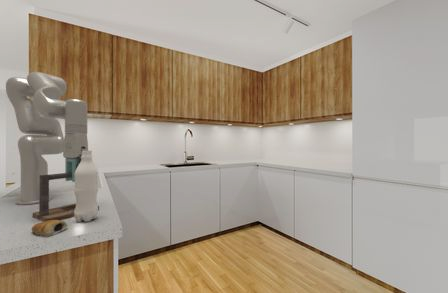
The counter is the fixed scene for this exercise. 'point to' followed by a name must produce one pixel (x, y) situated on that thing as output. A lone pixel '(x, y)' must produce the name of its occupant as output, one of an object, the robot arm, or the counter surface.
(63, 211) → the hook shelf
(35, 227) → the pastry
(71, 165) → the teal rectangular block
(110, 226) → the counter surface
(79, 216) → the water bottle
